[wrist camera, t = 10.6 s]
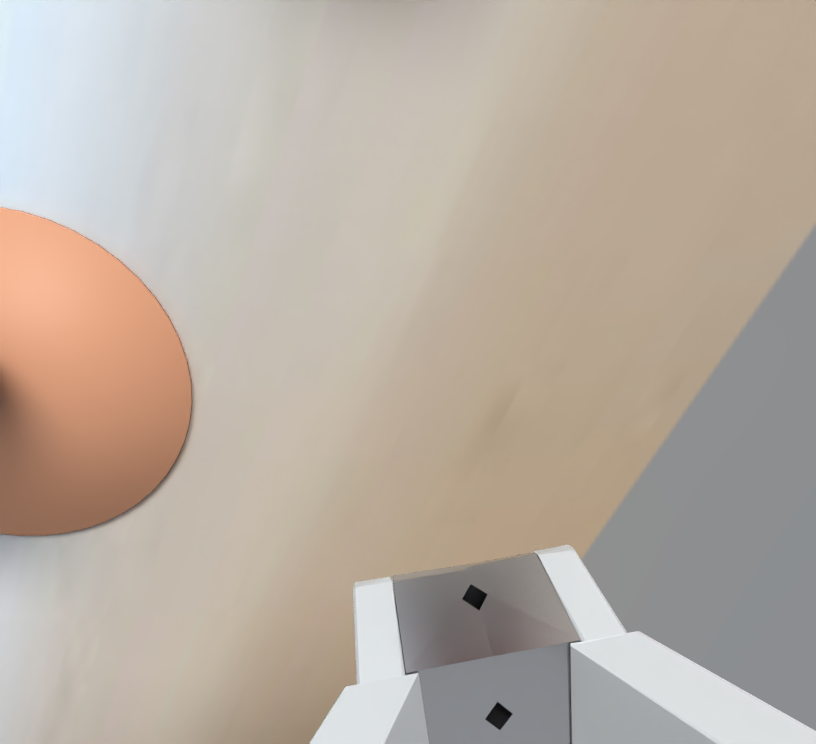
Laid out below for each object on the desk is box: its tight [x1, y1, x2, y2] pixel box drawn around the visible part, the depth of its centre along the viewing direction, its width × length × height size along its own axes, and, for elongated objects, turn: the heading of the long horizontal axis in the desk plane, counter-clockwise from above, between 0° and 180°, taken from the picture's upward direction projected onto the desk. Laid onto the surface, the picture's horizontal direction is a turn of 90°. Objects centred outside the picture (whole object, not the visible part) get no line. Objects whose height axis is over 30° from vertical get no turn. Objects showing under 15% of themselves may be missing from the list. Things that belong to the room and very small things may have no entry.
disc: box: [0, 207, 192, 536], centre depth 20 cm, size 12×12×1 cm
